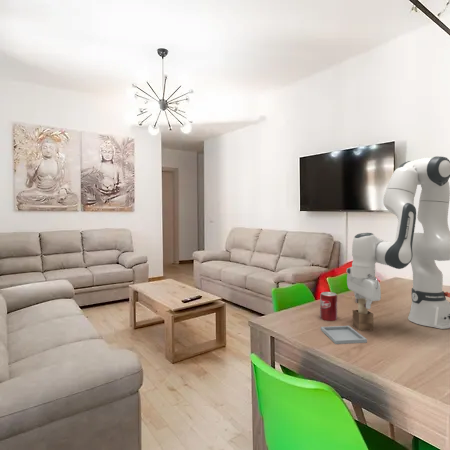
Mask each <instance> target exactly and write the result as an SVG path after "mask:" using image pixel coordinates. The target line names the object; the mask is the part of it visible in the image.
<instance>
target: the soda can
mask: <svg viewBox="0 0 450 450" xmlns="http://www.w3.org/2000/svg"><path fill="white" fill-rule="evenodd" d="M319 296H320V297H319V299H320V300H319V301H320V302H319V303H320V305H319V306H320V307H319V308H320V309H319V310H320V311H319V318H320V319H321V320H322V321H327V322H334V321H337V320H338V294H337V293H336V292H332V291H331V292H330V291H323V292H321V293H320V295H319Z"/></svg>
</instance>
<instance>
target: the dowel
mask: <svg viewBox="0 0 450 450" xmlns="http://www.w3.org/2000/svg"><path fill="white" fill-rule="evenodd" d="M366 301H367V300H366V299H365V298H359V299H358V303H357V310H358V313H360V314H368V311H369V309H367V308H365V303H366Z"/></svg>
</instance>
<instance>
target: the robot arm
mask: <svg viewBox="0 0 450 450" xmlns="http://www.w3.org/2000/svg"><path fill="white" fill-rule="evenodd" d="M449 179H450V159H449V158H448V157H445V156H438V155H437V156H433V157H429V156H428V157H421V158H418V159H415V160H414V159H413V160H407V161H405V162H404V163H401V164H400V165H399V166H398V167H397V168H395V170H394V171H393V172H392V174H391V176H390V178H389V180H388V183H387V185H386V189H385V191H384V195H383V206H384V207H385V209H386V210H387V211H388V212H390V213H392V214H393V215H395V217H396V218H397V219H398V220H397V221H398V222H397V228H396V235H395V239H394V240H393V241H388V240H384V239H381V238H379V237H378V236H376V235H375V234H374V233H372V232H360V233H358V234H355V235H354V237H353V240H352V246H351V256H352V262H351V266H350V267H348V268H346V274H347V275H346V284H347V288H348V290H350V291H352V292H353V294H354V295H353V296H354V298H355V303H357V304H358V299H359V298H360V295H361V296H363V297H365V298H366V300H367V301H366V303H365V308H367V309H368V310H370V309H371V305H372V303H373V302H378V301H379V302H380V300H381V299H382V293H381V290H382V289H381V284H380V282H379V280H378V277H377V276H376V264H380V265H385V266H389V267H390V268H393V269H398V270H401V269H404V268H406V267H407V266H408V265H411V270H412V288H411V292H410V293H411V306H410V311H409V314H408V317H407V320H408V321H410V322H412V323H414V324H416V325H420V326H425V327H431V328H437V329H441V330H446V329H450V301H448V300H447V298H450V292H448V291H444V290H443V282H444V281H443V277H444V275H443V273H442V271H441V269H440V268H439V267H438V266H437V264H436V261H437V262H443V261H444V262H445V261H450V227H449V223H448V222H449V221H448V218H449V208H450V182H449ZM418 185H420V188H421V190H420V195H419V201H418V209H417V208H416V207H415V205H414V204H415V203H414V201H415V196H416V193H417V189H418ZM417 210H418V211H417ZM416 221H418V223H420V224H421V226H422V231H423V232H415V229H416Z"/></svg>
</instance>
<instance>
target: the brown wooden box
mask: <svg viewBox="0 0 450 450" xmlns="http://www.w3.org/2000/svg"><path fill="white" fill-rule="evenodd" d="M352 326H353V327H352ZM352 326H351V327H352V328H355V329H356V330H357V331H359V332H361V331H362V332H366V331H374V313H372V312H371V311H369V310H368V314H360V313H358V309H352Z"/></svg>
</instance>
